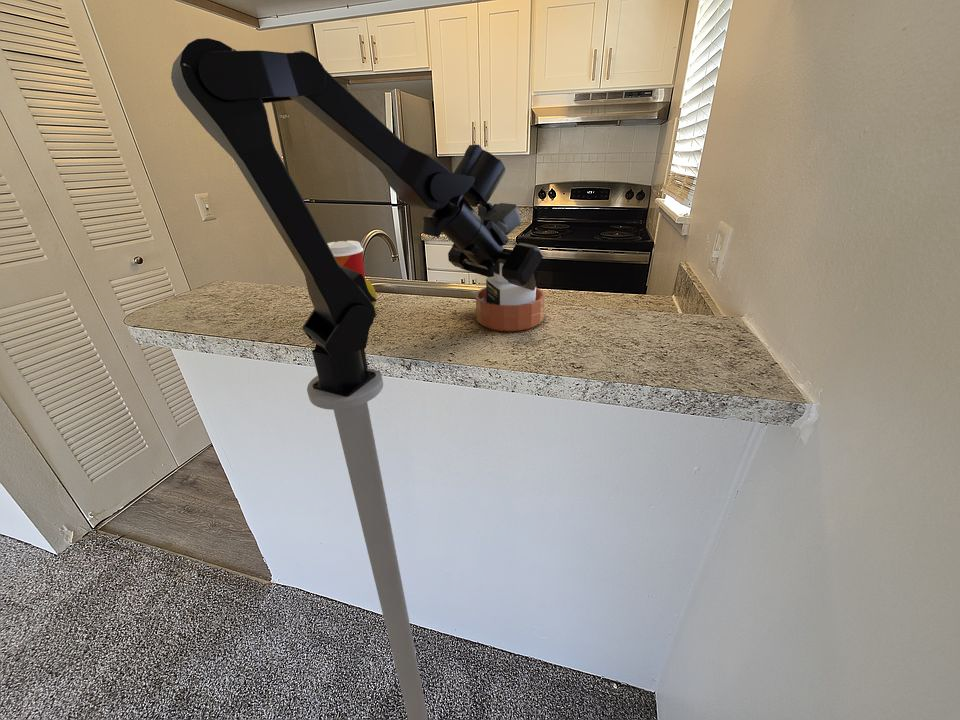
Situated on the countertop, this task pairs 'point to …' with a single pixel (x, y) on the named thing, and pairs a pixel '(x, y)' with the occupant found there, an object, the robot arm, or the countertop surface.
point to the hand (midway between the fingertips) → (516, 282)
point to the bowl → (509, 313)
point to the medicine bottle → (506, 290)
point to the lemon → (371, 290)
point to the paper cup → (348, 255)
